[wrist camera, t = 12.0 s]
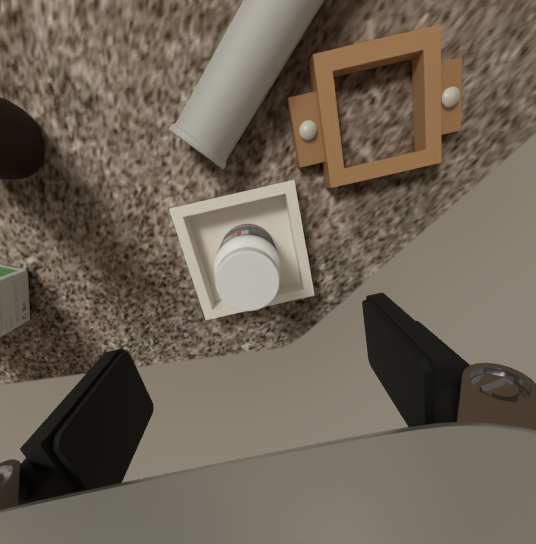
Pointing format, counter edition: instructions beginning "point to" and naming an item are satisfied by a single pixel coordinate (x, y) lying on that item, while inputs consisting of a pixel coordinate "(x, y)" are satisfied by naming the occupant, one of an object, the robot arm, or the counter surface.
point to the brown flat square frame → (426, 104)
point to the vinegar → (18, 142)
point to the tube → (242, 74)
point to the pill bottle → (247, 268)
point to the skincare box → (13, 298)
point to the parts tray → (235, 211)
